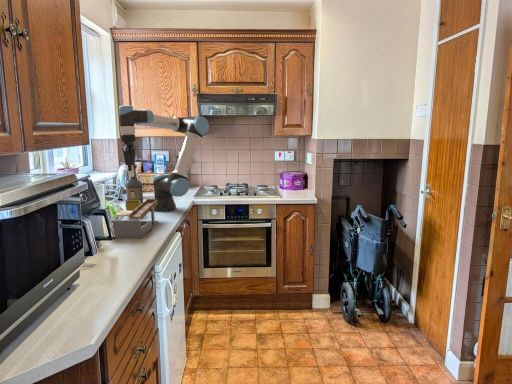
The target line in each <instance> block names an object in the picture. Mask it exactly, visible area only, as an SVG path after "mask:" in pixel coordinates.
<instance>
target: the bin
mask: <svg viewBox="0 0 512 384" xmlns="http://www.w3.org/2000/svg"><path fill="white" fill-rule="evenodd" d="M111 220H112V223H113V228H114V232H115V236H116V238H115V239H143V237H145V236H146V235H147V234H149V233H150V232H151V231H152V230H153V227H152V222H151V221H152V220H148V221H149V222H141V221H142V220H141V219H139V220H136V219H111Z"/></svg>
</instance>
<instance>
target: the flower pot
mask: <svg viewBox="0 0 512 384" xmlns="http://www.w3.org/2000/svg"><path fill="white" fill-rule="evenodd" d="M124 203H125V211H133V210H135V208H136V207H138V206H139V205H140V200H135V201H127V200H125V201H124ZM128 217H129V218H130V216H128Z"/></svg>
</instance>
